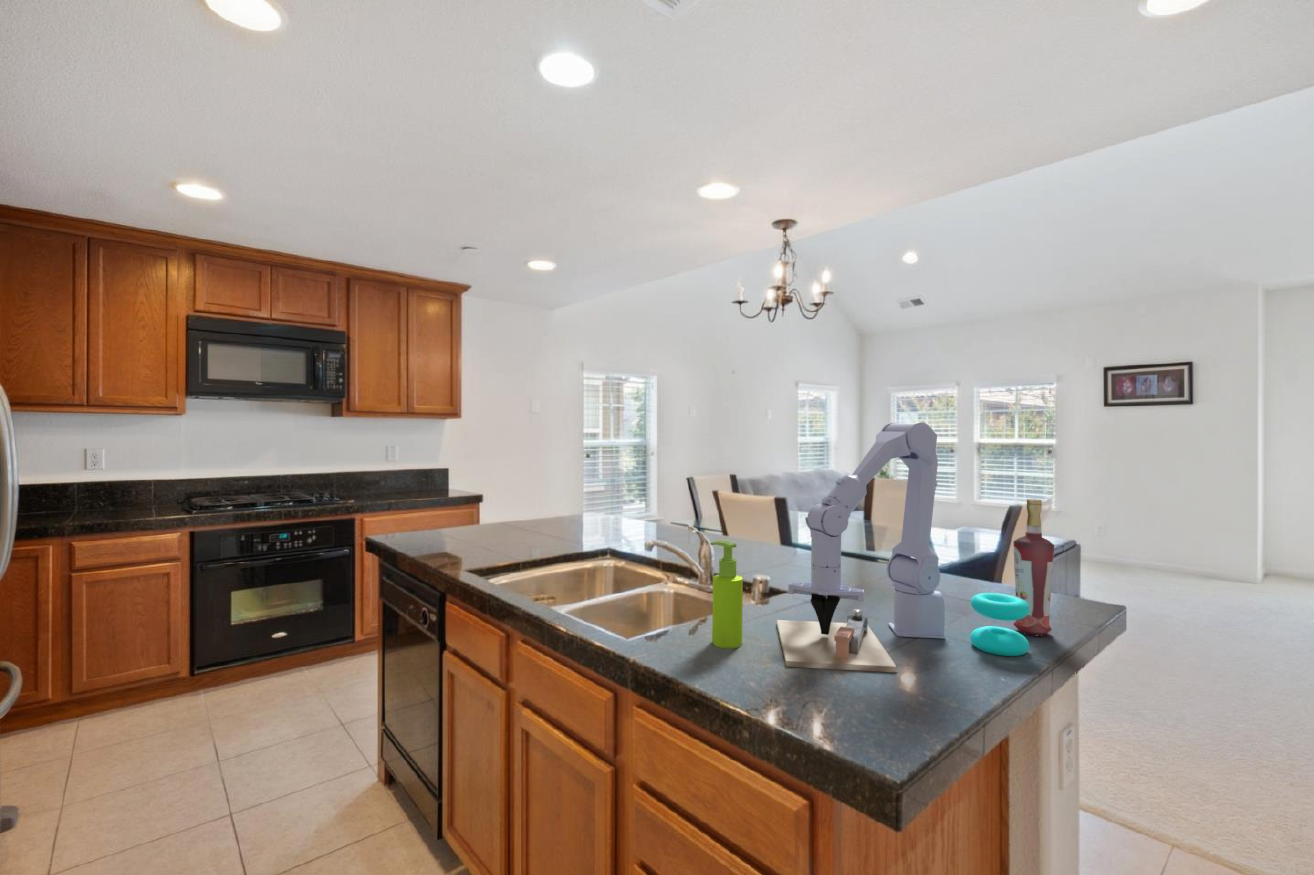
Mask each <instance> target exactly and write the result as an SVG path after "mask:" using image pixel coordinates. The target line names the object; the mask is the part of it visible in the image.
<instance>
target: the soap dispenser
mask: <svg viewBox="0 0 1314 875" xmlns="http://www.w3.org/2000/svg"><path fill="white" fill-rule="evenodd" d="M709 544H710V546H721V547H723V557H721V558H719V562H718V565H719V566H718V567H719V568H718V569H719V570H718V574H715V575H713V576H712V630H711V631H712V632H711V634H712V635H711V637H712V645H713V646H715V647H717V648H721V649H736V648H739V647H741V646H742V645H743V600H744V598H743V594H744V593H743V587H744V586H743V585H744V584H743V583H744V582H743V580H744V579H743V577H742V576H741V575H738V574H737V559H735V558H734V557H733V548H737V543H734V542H731V541H727V540H719V541H714V542H709Z"/></svg>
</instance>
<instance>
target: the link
mask: <svg viewBox="0 0 1314 875" xmlns="http://www.w3.org/2000/svg"><path fill="white" fill-rule="evenodd" d="M863 611H864V610H862V609H858V608H853V609H852V614H850V615H847V619H846V620H847V622H846V623H847V625H846V627H849V628H854V635H853V636H852V638H851V640H850V642H849V652H852V653H858V651H859V648H860V645H861V642H862V639H863V635H864V633H865V632H867V631H868V626H869V622H868V621H869V620H868V619H869V618H868V617H867V616H865V615H863Z"/></svg>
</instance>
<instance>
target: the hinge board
mask: <svg viewBox="0 0 1314 875" xmlns="http://www.w3.org/2000/svg"><path fill="white" fill-rule="evenodd" d="M846 625H847V622H834V621H833V622H832V621H831V625H830V632H829V634H828V635H826V634H821V629H820V624H819V621H814V620H813V621H809V620H806V621H805V620H790V619H789V620H788V619H786V620H785V619H784V620H783V619H776V626H777V628H776V629H777V631H778V636H779V641H780V645H781V650H782V653H783V658H784V663H785V666H786V667H787V668H789V667H790V668H808V669H826V670H827V669H828V670H844V671H845V670H847V671H865V672H867V671H868V672H881V673H882V672H884V673H886V672H888V673H897V665H896V664H895V662H894V661H893V659H892V658H891V657H890V655H889V653H888V651H886V649H885V648H884V646H883V645H882V643H881V642H880V640H879V639H878V638H877V636H876V635H875V633H874V631H872V628H870V626H869V625H868V631H867V632H865V633H864V635H863V639H862V642H861V645H860V648H859V651H858V653H852V652H849V657H848V659H847V660H846V659H841V658H836V641H834V635H835V634H836V632H837V631H838V629H839V628H840V627H841V626H842V627H846Z"/></svg>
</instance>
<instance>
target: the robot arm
mask: <svg viewBox="0 0 1314 875" xmlns="http://www.w3.org/2000/svg"><path fill="white" fill-rule="evenodd" d="M937 439H938V434H937V433H936V432H935V431H934V430H933V428H932V427H931V426H930V425H929V424H927V423H926V422H922V421H921V422H919V421H918V422H888V423H887V424H885V425H884V426H883V427H882V429H881V430H880V431H879V432H878V433H877V434H876V435H875V442H874V444H873V445H872V447H870V449H869V450H868V452H867V453H866V454H865V456H864V458H863V459H862V460H861V462H860V463H859V464H858V466H857V467H856V468H855V470H854V471H853V473H852V474H851V475H849V474H848V475H843V476H842V477H838V478H837V480H836V481H835V485H834V486H833V488H832V489H831V490H830V491H829V492H828V494H827V495H826V496H824V497H823V498H822V499H821V503H817V504H815V505H813V506H812V507H811V508H810V510H809V511H808V513H807V516H805V517H804V518H805V519H804V520H805V524H806V526H807V528H808V529H809V531H810V538H811V541H810V542H811V544H810V545H811V546H810V547H811V548H810V549H811V553H810V555H811V556H810V558H811V559H810V564H811V565H810V566H811V567H810V569H811V570H810V571H811V572H810V576H811V577H810V582H793V581H792V582H789V583H788V584H787V585H788V587H787V588H788V590H787V592H788V594H789V595H794V594H797V595H806V596H810V603H811V606H812V607H813V609H814V612H815V614H816V618H817V619H818V620H817V621H818V622H819V624H820V629H821V634H826V635H828V634H829V632H830V625H831V622H832V620H833V617H834V615H835V611H836V609H837V607H838V605H839V603H840V600H841V599H843V600H852V601H858V602H861V603H864V601H865V589H861V588H854V587H848V586H844V585H841V584H842V533H844V532H846V531H847V528H848V527H849V526H848V525H849V519H850V517H851V514H852V512H853V511H854V510H855V508H856V507H857V506H858V505H859V504H860V502H861V501H862V500H863V499H864V498H865V496H866V495H867V494H868V493H867V485H868V484H869V483H870V482H871V481H872V480H873V478H874V477H875V476H876V475H877V474H878V473H880V471H881V470H882V469H883V468H884V467H885V466H886V465H887V463H889V462H890V461H891V460H892V459H897V458H898V459H900V460H901V461H902V462H903V463H904V465H905V466H906V467H907V468H908V474H907V482H906V484H907V485H906V492H905V501H904V502H905V503H904V511H903V521H902V522H903V523H902V531H901V541H900V542H899V543H897V544H896V545H895V546H894V547H893V548H892V551H891V557H890V558H889V560H888V562H887V564H886V573H887V577H888V579H890V580H891V582H892V587H894V593H893V594H894V600H893V602H894V604H893V608H894V609H893V611H894V612H893V613H894V614H893V622H888V624H887V625H888V626H889V627H890V629H891V630H892V631H893V632H894V633H895V635H896V637H901V638H927V639H946V635H945V623H946V622H945V621H946V620H945V619H946V618H945V612H946V611H945V610H946V607H945V599H944V596H943V594H942V592H941V591H939V590H936V589H937V588H938V586H939V585H940V582H941V571H940V568H939V556H938V555H937V554H936V552H935V551H934V550H933V548H932V547H931V546H930V542H931V532H932V522H933V512H934V506H935V505H934V504H935V503H934V502H935V492H936V484H937V475H938V464H939V461H938V455H937V450H936V448H937Z"/></svg>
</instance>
